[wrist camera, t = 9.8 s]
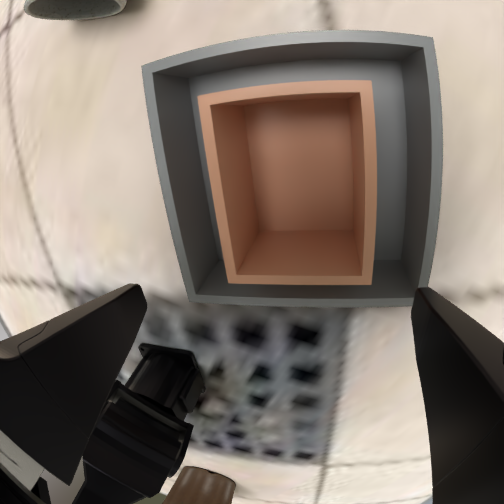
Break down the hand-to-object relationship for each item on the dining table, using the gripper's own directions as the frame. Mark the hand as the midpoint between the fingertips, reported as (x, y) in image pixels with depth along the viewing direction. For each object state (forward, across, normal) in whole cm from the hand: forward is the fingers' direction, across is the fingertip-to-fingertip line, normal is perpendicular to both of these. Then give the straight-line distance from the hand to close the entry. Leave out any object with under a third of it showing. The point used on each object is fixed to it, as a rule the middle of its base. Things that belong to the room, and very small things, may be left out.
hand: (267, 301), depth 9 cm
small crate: (+11, 0, -2) cm, 11 cm away
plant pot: (+12, +20, +59) cm, 63 cm away
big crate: (+11, 0, -2) cm, 12 cm away
